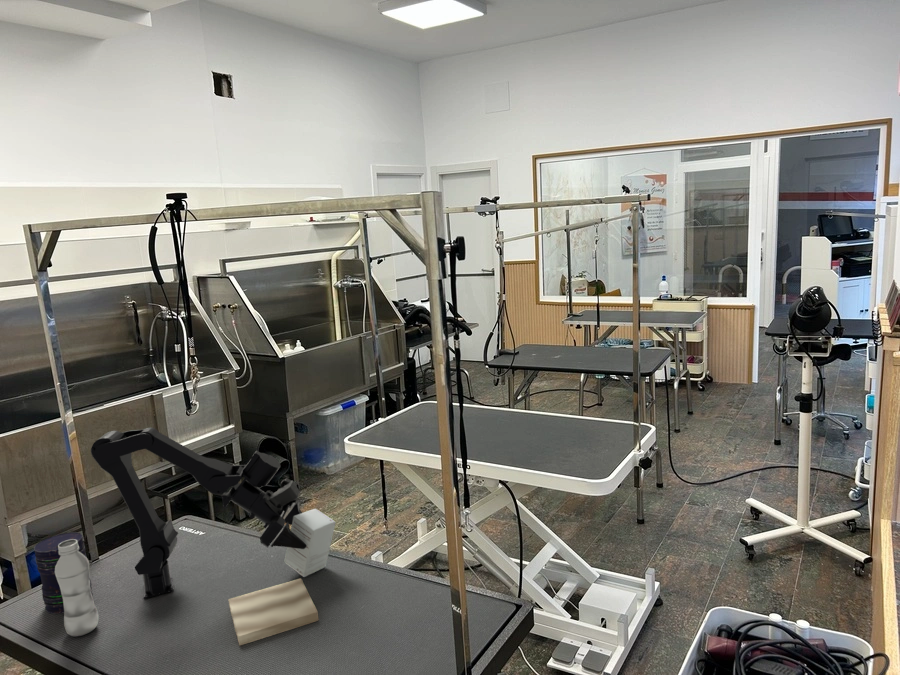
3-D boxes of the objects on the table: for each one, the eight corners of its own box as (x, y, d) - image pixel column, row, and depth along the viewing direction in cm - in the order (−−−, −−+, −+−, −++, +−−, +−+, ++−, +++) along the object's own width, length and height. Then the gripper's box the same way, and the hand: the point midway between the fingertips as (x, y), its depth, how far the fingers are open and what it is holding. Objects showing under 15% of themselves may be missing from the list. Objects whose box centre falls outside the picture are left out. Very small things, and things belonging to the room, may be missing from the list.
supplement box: (305, 552, 163) (316, 507, 160) (326, 567, 159) (337, 521, 156) (282, 562, 157) (292, 515, 154) (303, 578, 153) (314, 530, 150)
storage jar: (45, 599, 155) (34, 540, 152) (92, 586, 160) (82, 528, 157) (44, 619, 146) (32, 556, 144) (94, 604, 151) (83, 543, 149)
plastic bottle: (64, 644, 136) (47, 553, 133) (68, 627, 142) (52, 540, 139) (99, 634, 138) (83, 545, 135) (101, 618, 144) (86, 533, 141)
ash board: (229, 607, 145) (228, 599, 144) (301, 586, 151) (300, 578, 151) (239, 645, 130) (238, 636, 130) (318, 620, 137) (317, 611, 137)
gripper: (265, 489, 145) (323, 529, 147) (283, 461, 163) (334, 497, 165) (236, 528, 146) (293, 567, 148) (257, 495, 164) (308, 530, 166)
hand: (309, 538), depth 157 cm, fingers closed on supplement box, 9 cm apart
